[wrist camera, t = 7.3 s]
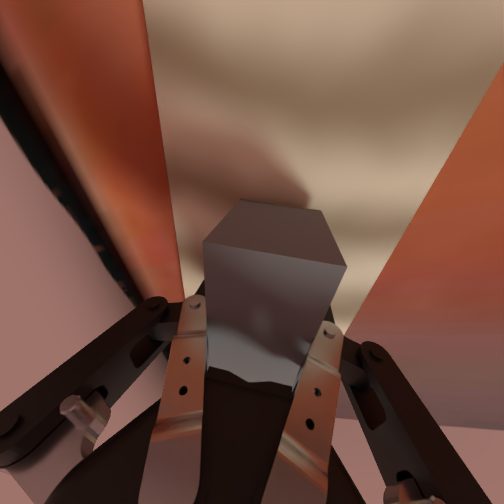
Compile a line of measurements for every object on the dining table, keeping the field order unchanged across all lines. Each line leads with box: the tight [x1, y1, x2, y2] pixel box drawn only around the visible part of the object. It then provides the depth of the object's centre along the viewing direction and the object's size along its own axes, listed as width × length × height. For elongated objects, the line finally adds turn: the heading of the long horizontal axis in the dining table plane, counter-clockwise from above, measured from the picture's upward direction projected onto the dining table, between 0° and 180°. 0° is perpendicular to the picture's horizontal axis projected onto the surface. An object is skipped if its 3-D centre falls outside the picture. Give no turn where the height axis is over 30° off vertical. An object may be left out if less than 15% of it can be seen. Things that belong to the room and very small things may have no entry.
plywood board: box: [143, 0, 504, 335], centre depth 13 cm, size 30×16×1 cm, turn 175°
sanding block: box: [202, 199, 347, 387], centre depth 11 cm, size 10×5×6 cm, turn 175°
